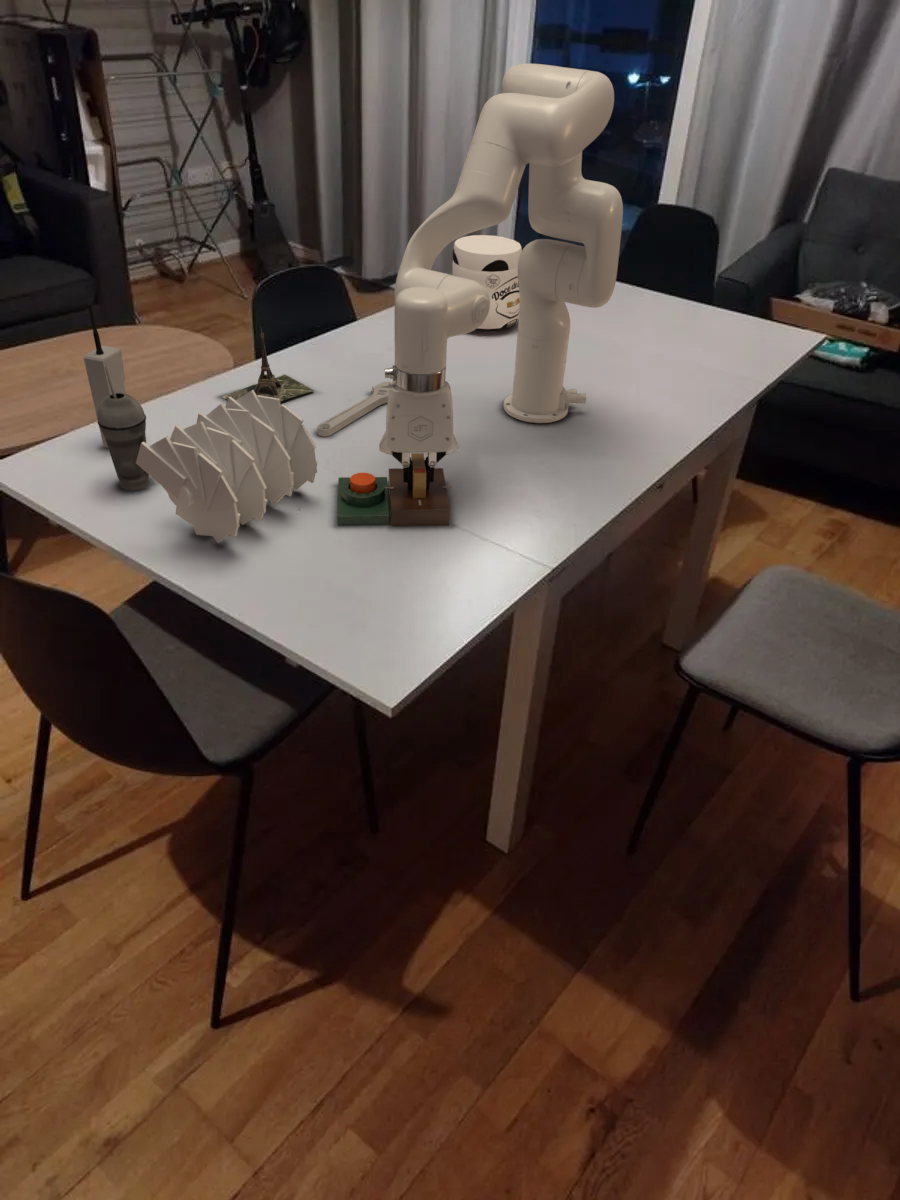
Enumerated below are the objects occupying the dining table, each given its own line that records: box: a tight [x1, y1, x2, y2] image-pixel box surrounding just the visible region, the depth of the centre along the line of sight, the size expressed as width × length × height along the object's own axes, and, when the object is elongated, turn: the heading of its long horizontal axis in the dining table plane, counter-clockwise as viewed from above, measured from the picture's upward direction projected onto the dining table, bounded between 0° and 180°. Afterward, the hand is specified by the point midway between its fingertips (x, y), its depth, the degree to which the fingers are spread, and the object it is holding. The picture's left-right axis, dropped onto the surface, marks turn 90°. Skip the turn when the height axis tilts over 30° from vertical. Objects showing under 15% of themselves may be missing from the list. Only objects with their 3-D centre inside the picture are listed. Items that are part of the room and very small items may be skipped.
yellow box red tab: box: [410, 452, 426, 498], centre depth 139 cm, size 6×2×5 cm, turn 5°
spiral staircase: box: [136, 390, 319, 544], centre depth 134 cm, size 18×18×25 cm
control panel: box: [385, 467, 453, 527], centre depth 142 cm, size 13×11×3 cm
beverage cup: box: [97, 365, 150, 492], centre depth 138 cm, size 7×7×20 cm
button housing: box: [336, 476, 390, 526], centre depth 141 cm, size 12×8×4 cm, turn 5°
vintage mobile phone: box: [83, 302, 127, 449], centre depth 147 cm, size 4×5×25 cm
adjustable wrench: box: [316, 380, 392, 438], centre depth 168 cm, size 25×6×2 cm, turn 142°
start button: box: [349, 472, 376, 494], centre depth 140 cm, size 4×4×2 cm
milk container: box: [451, 234, 523, 332], centre depth 202 cm, size 17×17×18 cm
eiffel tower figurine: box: [221, 326, 315, 402], centre depth 169 cm, size 15×10×13 cm
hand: (418, 484), depth 141 cm, fingers closed on yellow box red tab, 2 cm apart
